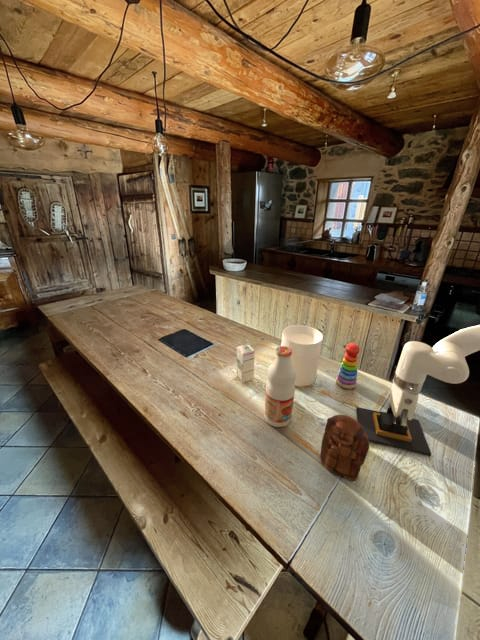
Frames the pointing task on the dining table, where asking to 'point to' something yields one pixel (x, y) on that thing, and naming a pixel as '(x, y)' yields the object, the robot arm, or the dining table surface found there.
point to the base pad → (408, 441)
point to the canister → (303, 351)
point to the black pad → (390, 421)
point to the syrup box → (245, 362)
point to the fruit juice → (280, 389)
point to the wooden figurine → (344, 446)
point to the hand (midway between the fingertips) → (392, 424)
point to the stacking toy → (349, 367)
